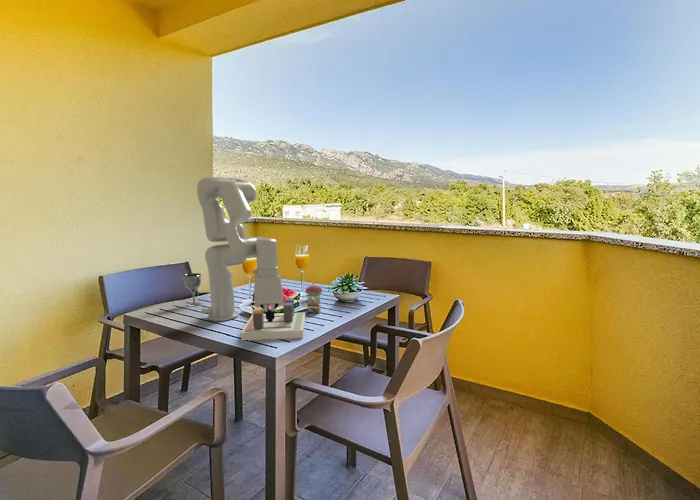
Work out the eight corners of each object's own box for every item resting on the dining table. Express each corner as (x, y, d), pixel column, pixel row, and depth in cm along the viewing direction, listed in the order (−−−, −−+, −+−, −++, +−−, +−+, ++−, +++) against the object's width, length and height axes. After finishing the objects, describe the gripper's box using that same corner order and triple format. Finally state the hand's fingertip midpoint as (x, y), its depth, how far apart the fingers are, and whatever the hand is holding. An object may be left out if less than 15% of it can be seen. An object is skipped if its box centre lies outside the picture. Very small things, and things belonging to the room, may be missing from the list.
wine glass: (206, 303, 185) (204, 274, 183) (192, 307, 178) (189, 276, 176) (196, 301, 189) (194, 272, 187) (182, 305, 183) (179, 275, 181)
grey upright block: (253, 329, 136) (252, 311, 135) (255, 325, 139) (254, 308, 139) (262, 328, 136) (261, 311, 135) (264, 325, 140) (263, 308, 139)
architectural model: (318, 315, 164) (317, 299, 163) (303, 314, 166) (302, 298, 165) (320, 313, 167) (320, 297, 166) (306, 312, 169) (305, 296, 168)
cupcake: (321, 301, 185) (320, 277, 183) (304, 301, 185) (303, 278, 183) (323, 297, 193) (322, 274, 192) (306, 297, 193) (306, 274, 192)
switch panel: (241, 340, 134) (239, 313, 133) (252, 321, 156) (251, 298, 154) (302, 338, 135) (301, 311, 134) (305, 319, 157) (304, 296, 156)
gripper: (245, 275, 131) (248, 325, 133) (287, 273, 133) (290, 323, 135) (248, 271, 139) (251, 319, 141) (289, 269, 140) (291, 317, 142)
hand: (270, 320), depth 138 cm, fingers closed
